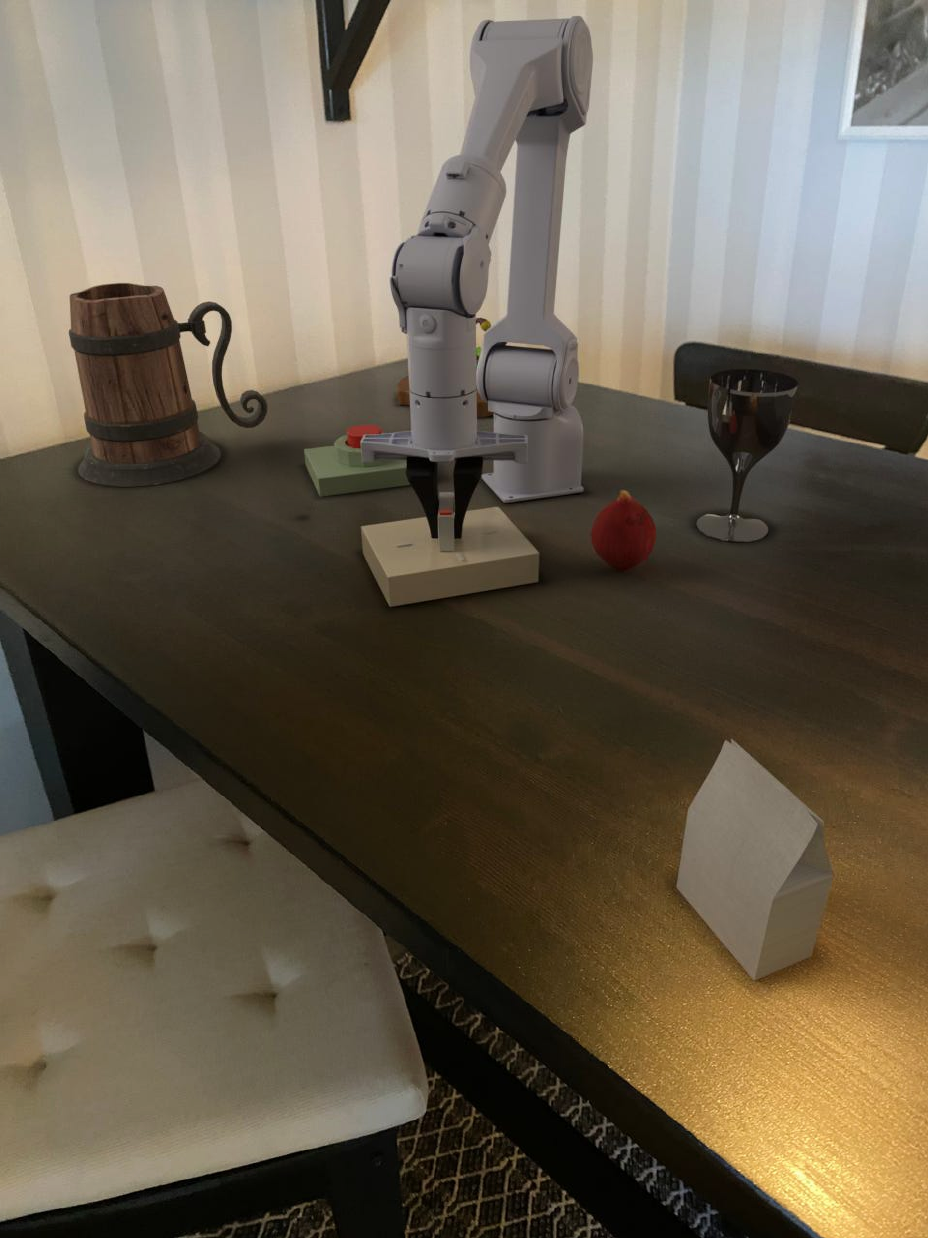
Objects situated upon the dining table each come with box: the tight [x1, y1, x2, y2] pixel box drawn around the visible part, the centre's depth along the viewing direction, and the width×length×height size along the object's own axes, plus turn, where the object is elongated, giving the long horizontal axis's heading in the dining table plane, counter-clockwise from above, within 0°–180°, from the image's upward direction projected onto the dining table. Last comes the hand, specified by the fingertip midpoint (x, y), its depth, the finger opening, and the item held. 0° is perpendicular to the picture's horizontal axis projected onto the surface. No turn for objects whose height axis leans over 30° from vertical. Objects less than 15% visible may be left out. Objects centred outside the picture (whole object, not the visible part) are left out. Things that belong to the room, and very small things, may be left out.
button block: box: [303, 432, 411, 498], centre depth 105 cm, size 13×10×4 cm
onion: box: [590, 489, 657, 573], centre depth 82 cm, size 6×6×8 cm
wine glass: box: [695, 368, 799, 543], centre depth 88 cm, size 8×8×15 cm
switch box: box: [438, 491, 455, 551], centre depth 83 cm, size 6×1×4 cm, turn 0°
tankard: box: [68, 282, 268, 488], centre depth 107 cm, size 24×17×20 cm
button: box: [346, 424, 383, 448], centre depth 104 cm, size 4×4×2 cm
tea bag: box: [676, 738, 835, 982], centre depth 46 cm, size 4×7×10 cm, turn 23°
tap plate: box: [360, 506, 540, 608], centre depth 84 cm, size 14×11×3 cm
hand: (446, 534), depth 83 cm, fingers closed on switch box
